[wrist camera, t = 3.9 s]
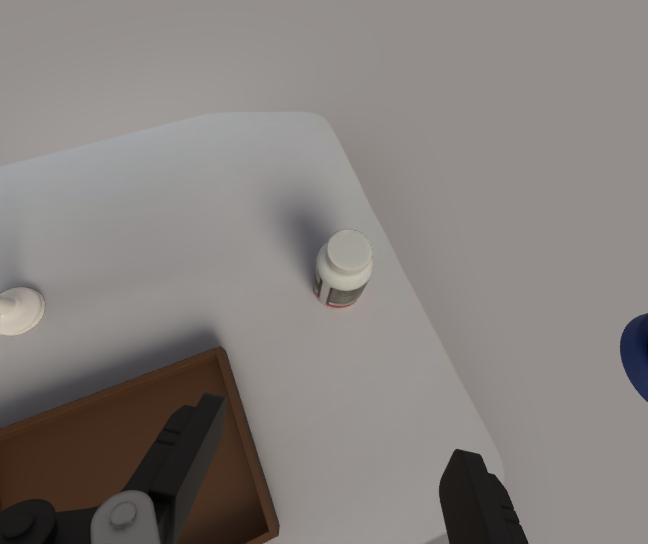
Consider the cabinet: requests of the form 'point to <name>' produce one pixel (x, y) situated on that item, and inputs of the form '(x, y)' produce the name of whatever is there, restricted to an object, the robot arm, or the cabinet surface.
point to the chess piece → (20, 310)
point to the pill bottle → (343, 269)
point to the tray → (142, 452)
